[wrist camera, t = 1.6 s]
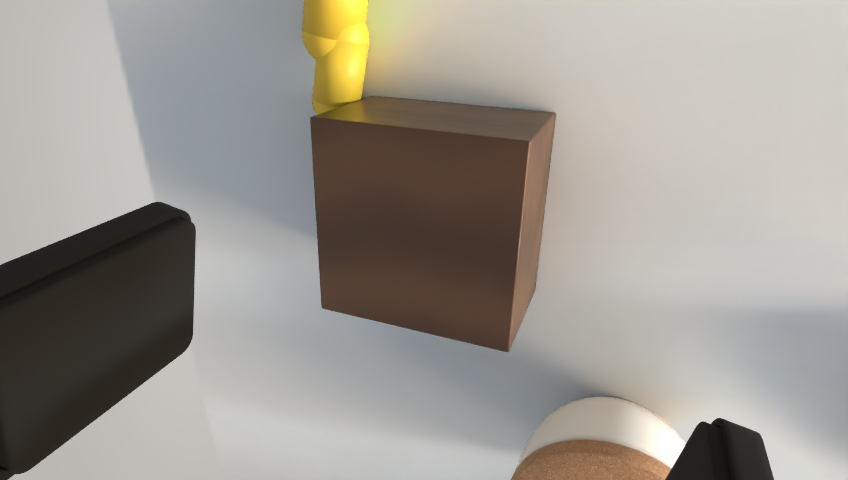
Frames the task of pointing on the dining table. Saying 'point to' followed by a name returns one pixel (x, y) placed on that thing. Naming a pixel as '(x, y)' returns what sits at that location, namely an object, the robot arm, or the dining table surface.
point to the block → (431, 214)
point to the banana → (336, 50)
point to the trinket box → (600, 443)
